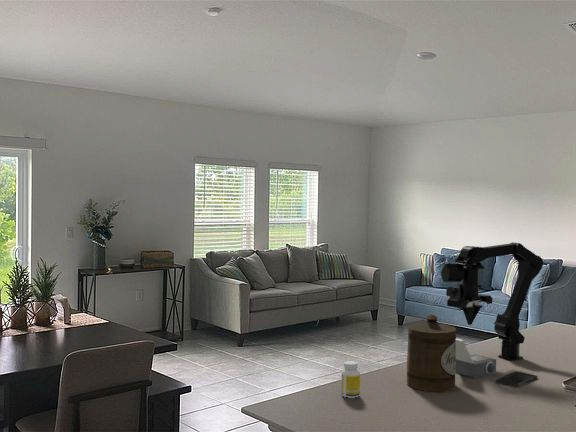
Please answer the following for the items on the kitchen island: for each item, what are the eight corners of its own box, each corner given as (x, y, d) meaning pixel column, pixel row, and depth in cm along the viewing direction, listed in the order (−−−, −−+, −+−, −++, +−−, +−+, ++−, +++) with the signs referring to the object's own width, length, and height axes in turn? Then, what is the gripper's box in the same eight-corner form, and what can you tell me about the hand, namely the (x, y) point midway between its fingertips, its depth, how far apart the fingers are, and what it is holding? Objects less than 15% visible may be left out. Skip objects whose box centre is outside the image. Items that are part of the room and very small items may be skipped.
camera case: (474, 367, 214) (475, 353, 214) (497, 373, 207) (497, 359, 207) (454, 372, 208) (454, 358, 208) (476, 378, 200) (476, 364, 200)
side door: (444, 335, 204) (443, 337, 203) (463, 339, 198) (461, 341, 197) (456, 358, 207) (454, 360, 207) (474, 363, 201) (473, 365, 201)
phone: (538, 376, 201) (518, 385, 191) (538, 379, 201) (517, 389, 191) (515, 371, 207) (493, 380, 196) (515, 374, 207) (493, 383, 196)
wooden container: (456, 393, 184) (458, 320, 184) (406, 390, 187) (407, 318, 187) (453, 379, 199) (454, 311, 198) (406, 376, 202) (407, 309, 201)
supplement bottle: (363, 396, 182) (364, 363, 181) (350, 400, 178) (351, 366, 178) (350, 391, 186) (350, 359, 185) (337, 395, 182) (337, 362, 182)
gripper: (468, 277, 234) (467, 318, 234) (435, 280, 223) (434, 323, 223) (493, 280, 225) (492, 323, 225) (460, 284, 214) (459, 329, 214)
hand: (469, 324), depth 222 cm, fingers closed
